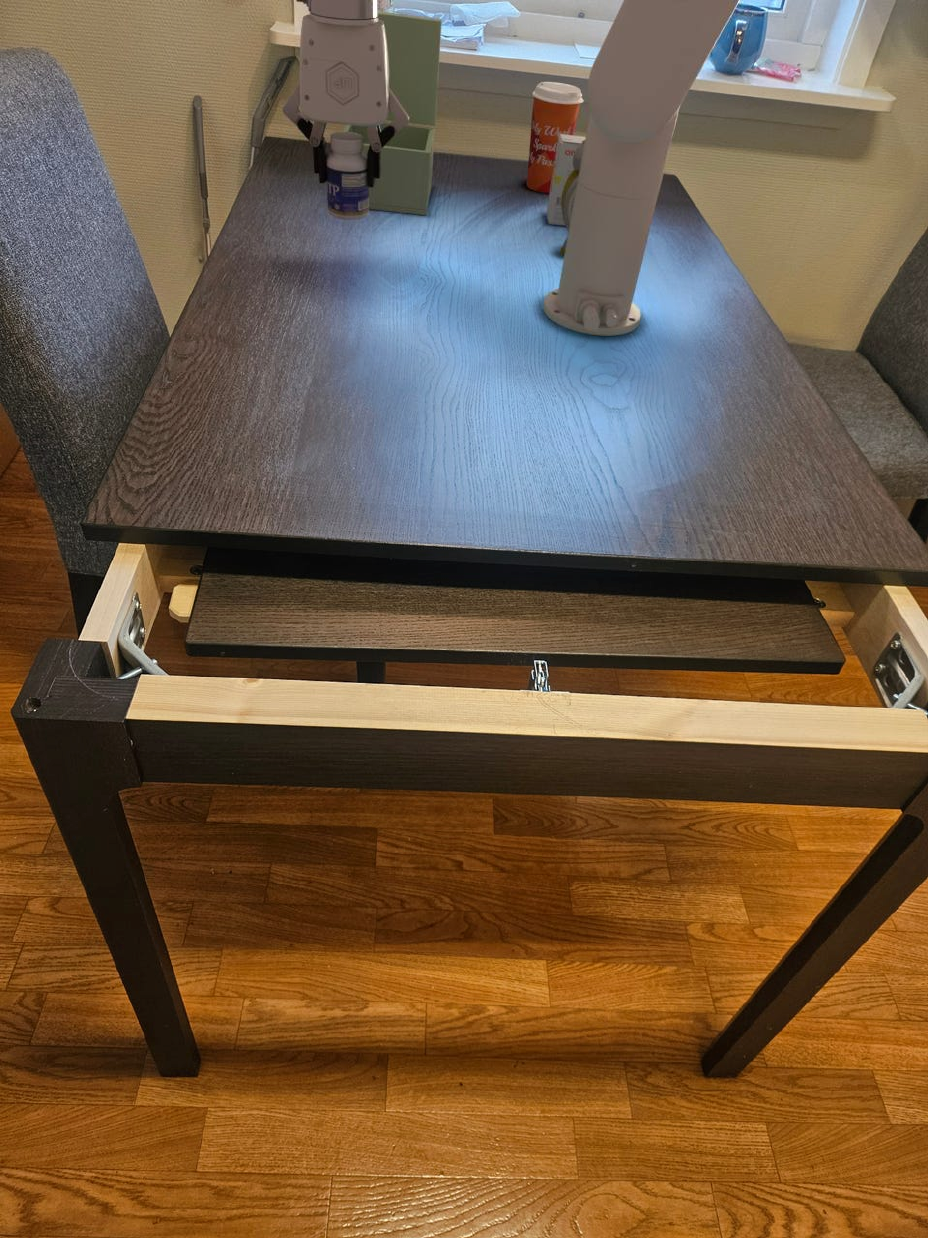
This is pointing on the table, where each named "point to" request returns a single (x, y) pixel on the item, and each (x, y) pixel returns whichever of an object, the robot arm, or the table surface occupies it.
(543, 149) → the coffee cup
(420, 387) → the table surface
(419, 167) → the bin
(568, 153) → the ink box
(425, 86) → the bin lid
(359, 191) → the pill bottle
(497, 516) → the table surface
